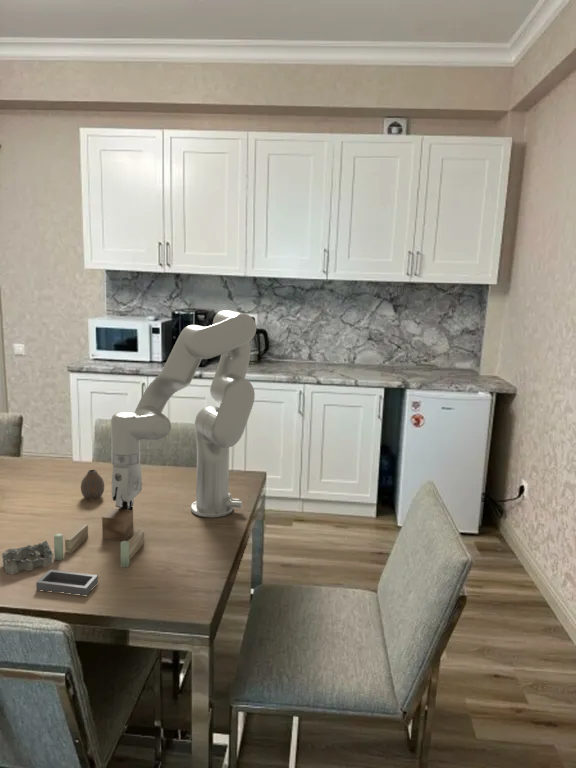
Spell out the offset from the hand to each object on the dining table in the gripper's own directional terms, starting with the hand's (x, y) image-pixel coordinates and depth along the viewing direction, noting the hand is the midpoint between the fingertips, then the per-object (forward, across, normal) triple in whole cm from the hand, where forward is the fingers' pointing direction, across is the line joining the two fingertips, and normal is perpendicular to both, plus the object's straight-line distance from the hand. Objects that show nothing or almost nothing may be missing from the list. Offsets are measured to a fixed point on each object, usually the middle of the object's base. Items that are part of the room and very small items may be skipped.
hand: (126, 520), depth 160 cm
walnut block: (+2, -6, 0) cm, 6 cm away
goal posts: (+2, -21, 0) cm, 21 cm away
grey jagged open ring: (+2, -25, +14) cm, 29 cm away
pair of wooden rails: (+2, -13, 0) cm, 13 cm away
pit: (+2, -32, -1) cm, 32 cm away
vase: (+2, +16, +18) cm, 24 cm away
